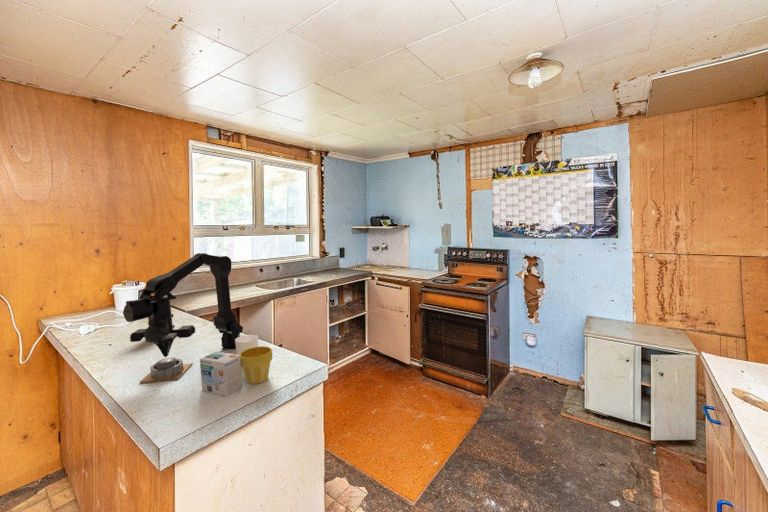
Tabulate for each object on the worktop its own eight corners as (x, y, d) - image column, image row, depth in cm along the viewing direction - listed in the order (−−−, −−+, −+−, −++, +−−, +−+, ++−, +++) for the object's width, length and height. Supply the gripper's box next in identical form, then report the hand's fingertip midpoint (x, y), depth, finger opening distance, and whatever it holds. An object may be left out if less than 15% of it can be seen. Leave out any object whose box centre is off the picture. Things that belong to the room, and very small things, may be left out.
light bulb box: (201, 391, 104) (198, 358, 103) (218, 381, 110) (216, 350, 109) (226, 396, 100) (224, 363, 99) (243, 386, 106) (241, 354, 105)
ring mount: (192, 364, 124) (191, 356, 123) (178, 379, 112) (177, 370, 112) (157, 367, 122) (156, 359, 121) (139, 383, 110) (138, 373, 110)
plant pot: (247, 373, 116) (245, 346, 115) (276, 371, 116) (275, 345, 115) (236, 388, 105) (234, 359, 104) (269, 386, 106) (267, 357, 105)
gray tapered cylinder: (180, 367, 120) (178, 356, 120) (172, 374, 114) (171, 363, 114) (162, 369, 119) (160, 358, 119) (153, 376, 113) (152, 365, 113)
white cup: (237, 370, 118) (235, 343, 117) (236, 362, 125) (234, 336, 124) (260, 365, 122) (259, 339, 121) (258, 357, 129) (256, 333, 128)
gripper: (117, 323, 105) (123, 369, 107) (180, 318, 108) (185, 363, 110) (136, 313, 116) (141, 355, 118) (193, 309, 119) (197, 350, 121)
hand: (166, 356), depth 116 cm, fingers closed
